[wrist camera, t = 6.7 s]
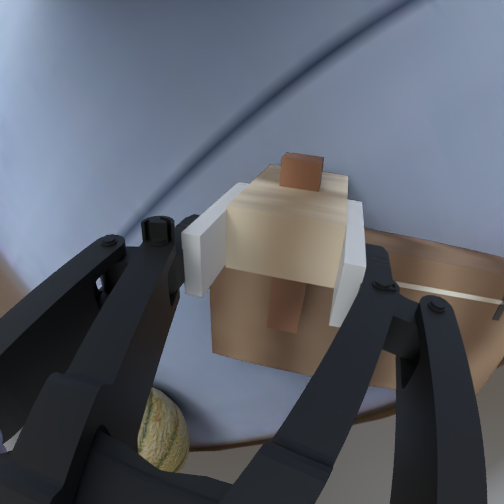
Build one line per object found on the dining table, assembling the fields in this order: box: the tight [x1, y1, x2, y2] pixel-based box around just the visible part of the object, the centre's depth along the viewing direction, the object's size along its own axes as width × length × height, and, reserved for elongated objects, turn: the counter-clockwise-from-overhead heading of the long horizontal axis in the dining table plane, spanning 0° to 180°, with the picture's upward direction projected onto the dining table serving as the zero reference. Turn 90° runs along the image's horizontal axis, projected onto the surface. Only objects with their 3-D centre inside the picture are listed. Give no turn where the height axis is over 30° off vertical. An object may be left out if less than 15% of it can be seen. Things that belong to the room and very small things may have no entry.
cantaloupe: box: [138, 387, 189, 473], centre depth 33 cm, size 15×15×15 cm
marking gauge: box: [226, 152, 348, 334], centre depth 18 cm, size 5×11×8 cm, turn 177°
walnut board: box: [210, 228, 504, 396], centre depth 22 cm, size 24×12×3 cm, turn 87°
